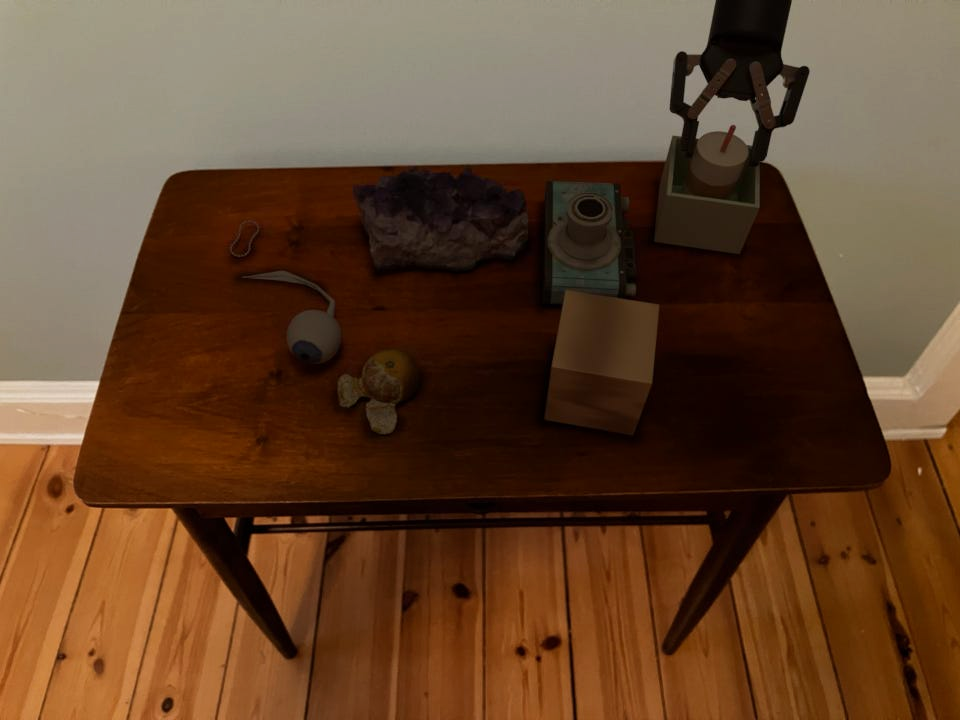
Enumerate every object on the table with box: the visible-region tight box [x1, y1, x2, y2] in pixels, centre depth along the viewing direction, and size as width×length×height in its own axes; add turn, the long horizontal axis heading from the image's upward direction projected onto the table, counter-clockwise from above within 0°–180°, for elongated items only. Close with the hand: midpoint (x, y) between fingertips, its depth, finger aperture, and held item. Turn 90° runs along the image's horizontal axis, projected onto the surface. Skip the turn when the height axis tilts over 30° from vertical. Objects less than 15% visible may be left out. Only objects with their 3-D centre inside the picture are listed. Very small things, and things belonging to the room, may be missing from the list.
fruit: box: [336, 349, 421, 435], centre depth 75 cm, size 8×8×4 cm
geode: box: [352, 165, 530, 273], centre depth 84 cm, size 20×12×10 cm, turn 91°
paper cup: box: [680, 124, 748, 201], centre depth 83 cm, size 6×6×13 cm
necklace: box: [229, 219, 261, 258], centre depth 87 cm, size 2×5×1 cm, turn 166°
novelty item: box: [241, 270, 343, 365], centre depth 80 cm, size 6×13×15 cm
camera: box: [542, 180, 637, 306], centre depth 83 cm, size 16×10×10 cm
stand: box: [543, 290, 660, 436], centre depth 72 cm, size 9×9×10 cm
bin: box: [653, 135, 761, 255], centre depth 87 cm, size 10×10×8 cm
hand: (720, 160), depth 80 cm, fingers open, 6 cm apart
